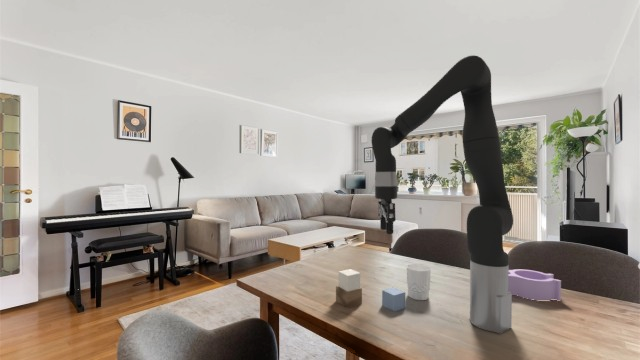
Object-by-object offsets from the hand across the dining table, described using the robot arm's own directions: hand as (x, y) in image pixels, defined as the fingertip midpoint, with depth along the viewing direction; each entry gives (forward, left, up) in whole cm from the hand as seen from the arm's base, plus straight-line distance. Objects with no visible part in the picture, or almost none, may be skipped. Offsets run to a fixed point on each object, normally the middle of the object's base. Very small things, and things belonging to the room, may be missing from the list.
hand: (386, 231), depth 103 cm
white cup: (-7, -8, -22) cm, 24 cm away
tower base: (+2, +15, -22) cm, 27 cm away
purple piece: (-25, -41, -22) cm, 53 cm away
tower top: (+1, +15, -17) cm, 23 cm away
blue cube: (-8, +5, -22) cm, 24 cm away
